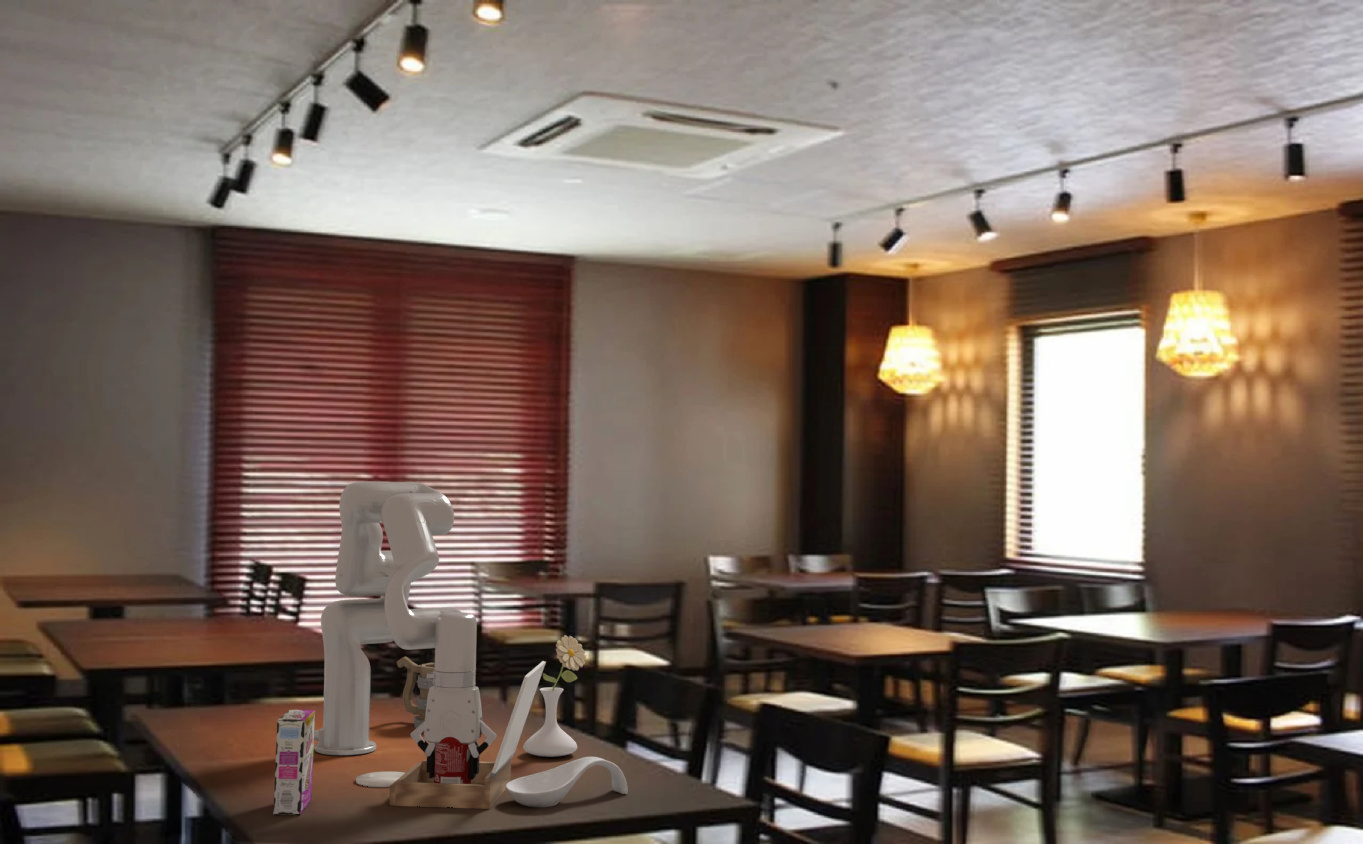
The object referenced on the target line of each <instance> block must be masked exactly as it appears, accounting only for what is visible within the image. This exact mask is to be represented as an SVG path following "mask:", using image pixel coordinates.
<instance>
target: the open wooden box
mask: <svg viewBox="0 0 1363 844" xmlns="http://www.w3.org/2000/svg"><path fill="white" fill-rule="evenodd" d="M494 764H495V761H479V773H478V774H476V777H475V778H474V779H473V780H471V784H449V783H434V777H433V778H429V773H427V759H422V761H420V762H419V761H418V762H417V763H415V764H414V765H413V766H412V767H411V768H409V769H408V770H407V771H405V772H404V773H405V774H404V775H402V776H401V777H400V778H399V779H397V780H396V781H395V782H394V783H393V784H391V785H390V787H389V806H390V805H391V806H392V807H395V806H396V807H417V806H418V808H419V806H420V807H421V808H422V807H425V808H447V807H450V808H451V807H453V809H455V808H456V809H478V810H479V809H480V810H482V809H485V810H491V808H492V807H493V806H494V805H495V803H496V802H497V801H498V800H499V798H500V797H501V796H502V795H503V793H504V792H505V791H506V789H505V786H506V784H507V783H508V782H510V781H512V779H511V778H512V777H511V776H512V758H511V759H510V760H509V761H508V762H507V763H506V765H505V766H504V767H503V768H502V769H501V770H500V771H499V772H498V773H497V775H496V776H495V777H494V778H491V777H490V774H491V773H492V770H493V767H494ZM451 809H452V808H451Z"/></svg>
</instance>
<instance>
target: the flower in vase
mask: <svg viewBox="0 0 1363 844" xmlns="http://www.w3.org/2000/svg"><path fill="white" fill-rule="evenodd" d="M555 647H556V648H555V652H556V654H557V655H556V659H558V660H559V662H560V663H561V664H562V665H561V668H560V672H559V673H558V676H557V678H555V677H554V676H550V675H547V674H546V673H545V672H542V677H543V680H545V681H547V682H551V683H553V686H552V687H551V686H550V687H542V688H539V691H540V693H541V695H542V696H543V698H544V704H545V721H544V723H543V725H542V727H541V728H539V729H538V730H537V731H536V732H535V733H534V734H533V735H531V736H530V737H529V738H528V739H527V740H526V741H525V742H524V744H523V747H522V748H523V750H524V751H525V752H526V753H527V754H530V755H532V756H537V757H546V758H549V757H550V758H556V757H562V756H563V757H565V756H568V755H571V754H572V753H575V752H576V751H577V749H578V745H577V742H576V741H575V740H574V739H573V738H572V737H571V736H570V735H569V734H567V732H565V731H564V730H563V729H562V728H561V727H560V726H559V724H558V721H557V711H558V710H557V708H558V702H559V698H560V696H561V695H562V693H563V692H564V688H562V687H556V685H557V683H558V681H559V679H560V677H561V679H563V681H565V682H567V683H572V682H574V681H576V680H577V679H578V676H577V675H576V674H575V673H574V672H573V671H579V669H580V668H583V666H584V665H586V661H585V659H587V655H586V654H585V652H586V651H585V650H584V649H583V645H582V644H581V643H579V641H578V639H577V638H575V637H573V636H571V635H569V636H567V635H566V634H564V635H563V636H562V637H561V639H558V640H557V642H556V644H555ZM564 668H567V669H568V670H567V669H566V670H565V671H563V670H564ZM570 670H572V671H570Z"/></svg>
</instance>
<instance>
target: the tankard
mask: <svg viewBox="0 0 1363 844" xmlns="http://www.w3.org/2000/svg"><path fill="white" fill-rule="evenodd" d="M396 665H397V667H398V668H399V669H401V668H403V667H405V668H406V669H407V671H406V672H407V673H406V674H407V675H406V681H405V684H404V686H403V690H402V691H403V692H402V702H403V705H404V708H405V710H406V712H407V713H409V714H412V715H415V716H414V717H413V727H414V729H416V728H417V727H419V726H420V725H421V724H422V723H423V722H425V714H426V705H427V698H428V693H429V689H430V687H433V686H434V685H433V681H431V680H427V673H431V672H434V670H435V661H434V662H427V663H422V664H419V665H418V664H417V663H415V662H414V661H412V660H411V658H409V657H407V656H403V657H401V658H400V659H398V660H397V661H396ZM418 673H419V674H418ZM416 683H417V687H418V688H419V695H417V696H416V697H417V700H416V704H414V701H413V692H414V689H415V686H416Z"/></svg>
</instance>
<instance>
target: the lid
mask: <svg viewBox="0 0 1363 844" xmlns="http://www.w3.org/2000/svg"><path fill="white" fill-rule="evenodd" d="M546 663H547V661H544V660H542V661H541V662H540V663H538V665H536V666H535V667H534V668H532V670H530V671H529V672H528V673H527V674H526V675H524V678H523V681H522V683H521V687H520V689H519V693H518V695H517V697H516V700H515V704H514V707H513V710H512V712H511V716H510V718H509V721H508V724H507V727H506V729H505V733H504V736H503V739H502V742H501V745H500V746H499V750H498V752H497V756H496V759H495V761H494V762H495V764H494V767H493V770H492V773H491V774H490V777H491V778H494V777H495V776H496V775H497V773H498V772H499V771H500V770H501V769H502V768H503V767H504V766H505V765H506V763H507V762H508V761H509V760H510V759H511V760H512V758H513V757H514V756H515V752H516V750H517V747H518V744H519V742H520V738H521V736H522V733H523V729H524V727H525V724H526V721H527V718H528V715H529V712H530V710H531V707H532V704H533V700H534V697H535V695H536V692H537V690H538V687H539V683H540V680H541V677H542V676H543V673H544V672H543V671H544V669H545V666H546Z"/></svg>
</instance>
